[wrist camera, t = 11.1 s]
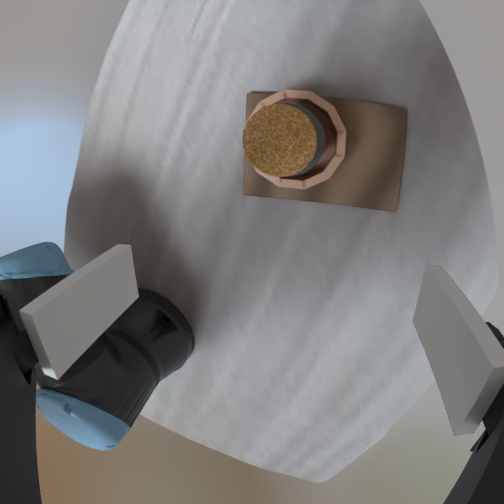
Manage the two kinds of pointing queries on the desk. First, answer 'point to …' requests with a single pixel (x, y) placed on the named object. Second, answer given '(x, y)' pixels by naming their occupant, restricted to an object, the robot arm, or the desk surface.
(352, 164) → the board
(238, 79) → the desk surface
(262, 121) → the bottle
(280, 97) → the terracotta bowl
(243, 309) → the desk surface
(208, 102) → the desk surface
